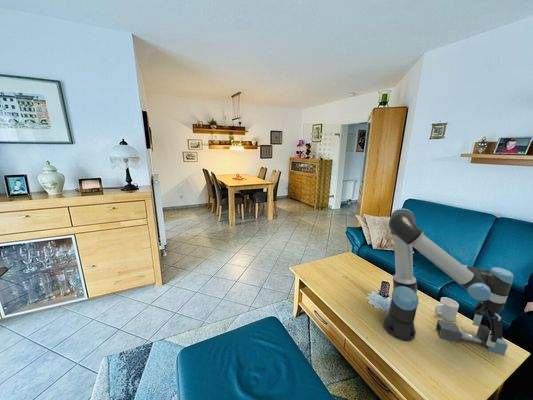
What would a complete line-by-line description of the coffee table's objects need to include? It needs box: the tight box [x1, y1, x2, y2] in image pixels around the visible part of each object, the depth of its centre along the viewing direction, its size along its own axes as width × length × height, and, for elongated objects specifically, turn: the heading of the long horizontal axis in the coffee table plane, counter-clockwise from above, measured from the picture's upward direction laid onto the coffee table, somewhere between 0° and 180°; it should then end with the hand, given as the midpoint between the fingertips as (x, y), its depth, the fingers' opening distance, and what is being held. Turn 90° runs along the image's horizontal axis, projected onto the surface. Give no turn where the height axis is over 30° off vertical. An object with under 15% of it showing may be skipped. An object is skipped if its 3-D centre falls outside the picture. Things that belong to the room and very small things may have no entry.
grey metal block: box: [435, 319, 462, 344], centre depth 116 cm, size 8×6×6 cm
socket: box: [487, 330, 509, 356], centre depth 110 cm, size 6×7×6 cm
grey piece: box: [460, 323, 491, 346], centre depth 112 cm, size 15×3×9 cm, turn 69°
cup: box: [434, 296, 460, 322], centre depth 129 cm, size 8×12×10 cm
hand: (482, 335), depth 111 cm, fingers open, 13 cm apart
